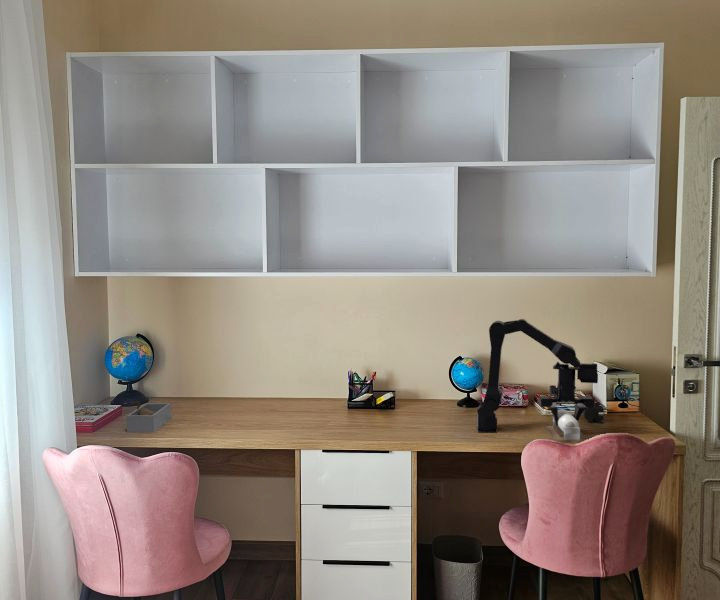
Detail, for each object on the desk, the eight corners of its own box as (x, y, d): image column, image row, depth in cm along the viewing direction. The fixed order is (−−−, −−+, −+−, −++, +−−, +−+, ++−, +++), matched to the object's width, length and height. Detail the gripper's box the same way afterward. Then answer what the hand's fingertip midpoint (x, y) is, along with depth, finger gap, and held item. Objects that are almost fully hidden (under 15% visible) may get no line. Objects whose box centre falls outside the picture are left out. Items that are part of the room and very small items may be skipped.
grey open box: (125, 424, 264) (125, 401, 264) (131, 421, 269) (131, 399, 268) (158, 427, 261) (158, 404, 260) (164, 424, 265) (164, 401, 264)
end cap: (579, 417, 274) (579, 399, 274) (598, 417, 273) (598, 400, 273) (584, 423, 264) (584, 405, 264) (603, 424, 263) (604, 406, 263)
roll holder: (555, 442, 239) (556, 428, 238) (544, 428, 257) (544, 415, 256) (588, 442, 238) (588, 428, 238) (574, 428, 256) (575, 415, 256)
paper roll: (559, 433, 241) (563, 416, 241) (551, 423, 254) (554, 407, 253) (577, 436, 241) (580, 419, 241) (568, 426, 254) (571, 410, 253)
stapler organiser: (126, 432, 255) (126, 415, 254) (146, 418, 275) (145, 403, 274) (154, 432, 254) (153, 415, 254) (171, 418, 274) (170, 403, 274)
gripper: (587, 377, 254) (586, 420, 255) (535, 377, 255) (534, 419, 256) (596, 383, 243) (595, 428, 244) (541, 383, 243) (540, 427, 245)
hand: (565, 425), depth 247 cm, fingers closed on paper roll, 6 cm apart
